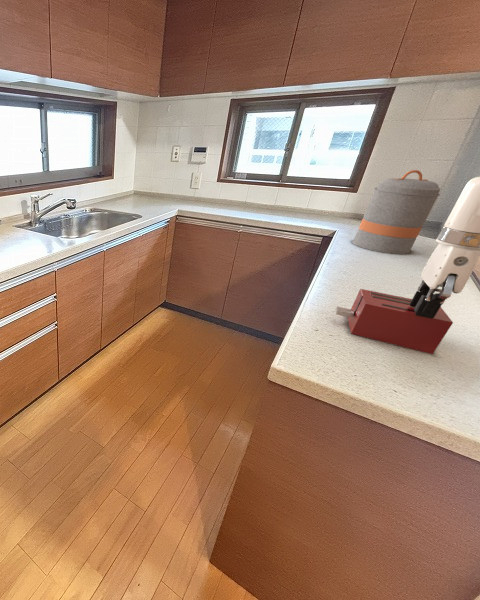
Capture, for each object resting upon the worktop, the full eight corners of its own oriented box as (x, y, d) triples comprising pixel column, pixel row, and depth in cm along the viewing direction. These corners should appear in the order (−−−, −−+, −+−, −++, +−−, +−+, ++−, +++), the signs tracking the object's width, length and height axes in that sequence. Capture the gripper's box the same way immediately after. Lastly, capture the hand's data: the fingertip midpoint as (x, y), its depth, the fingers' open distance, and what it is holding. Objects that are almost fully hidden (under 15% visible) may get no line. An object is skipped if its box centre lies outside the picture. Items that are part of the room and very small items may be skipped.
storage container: (368, 251, 150) (404, 171, 134) (342, 238, 170) (371, 166, 154) (423, 255, 147) (467, 173, 131) (390, 241, 166) (425, 168, 150)
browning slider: (424, 311, 78) (433, 296, 76) (426, 314, 77) (435, 299, 75) (413, 309, 79) (422, 294, 77) (415, 311, 78) (423, 297, 76)
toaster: (420, 333, 86) (439, 303, 82) (432, 354, 78) (453, 322, 74) (346, 316, 94) (360, 288, 90) (350, 333, 86) (365, 303, 81)
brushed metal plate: (351, 313, 90) (353, 309, 89) (352, 318, 87) (354, 314, 87) (335, 310, 91) (337, 306, 91) (336, 314, 89) (337, 310, 89)
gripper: (506, 251, 61) (453, 332, 70) (472, 232, 74) (431, 302, 83) (452, 244, 65) (408, 322, 73) (428, 227, 78) (393, 295, 86)
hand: (420, 311), depth 78 cm, fingers open, 4 cm apart
